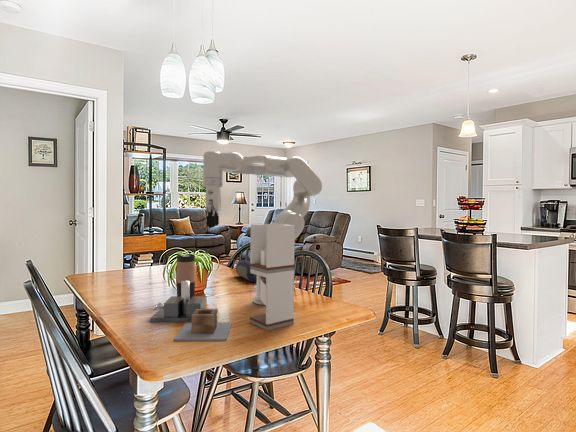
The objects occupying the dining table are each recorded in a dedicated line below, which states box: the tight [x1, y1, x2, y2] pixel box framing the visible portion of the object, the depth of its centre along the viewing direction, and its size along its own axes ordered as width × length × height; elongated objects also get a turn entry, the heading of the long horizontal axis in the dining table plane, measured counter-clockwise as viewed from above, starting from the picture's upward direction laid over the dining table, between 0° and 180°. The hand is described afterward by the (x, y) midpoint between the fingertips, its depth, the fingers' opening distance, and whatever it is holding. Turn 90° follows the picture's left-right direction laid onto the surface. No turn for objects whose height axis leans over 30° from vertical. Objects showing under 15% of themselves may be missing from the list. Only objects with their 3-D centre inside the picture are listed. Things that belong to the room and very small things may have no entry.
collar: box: [192, 308, 218, 334], centre depth 124 cm, size 7×7×6 cm
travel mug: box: [176, 253, 196, 299], centre depth 161 cm, size 8×8×20 cm
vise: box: [149, 280, 219, 323], centre depth 139 cm, size 22×12×14 cm, turn 92°
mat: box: [173, 321, 233, 342], centre depth 124 cm, size 16×16×1 cm
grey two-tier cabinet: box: [249, 223, 296, 331], centre depth 133 cm, size 11×11×35 cm
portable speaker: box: [235, 259, 257, 284], centre depth 208 cm, size 25×10×10 cm, turn 28°
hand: (212, 225), depth 150 cm, fingers open, 9 cm apart
